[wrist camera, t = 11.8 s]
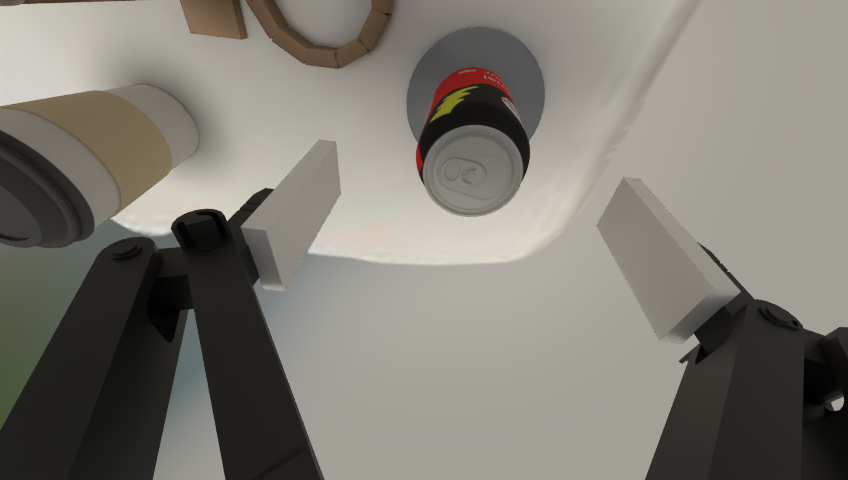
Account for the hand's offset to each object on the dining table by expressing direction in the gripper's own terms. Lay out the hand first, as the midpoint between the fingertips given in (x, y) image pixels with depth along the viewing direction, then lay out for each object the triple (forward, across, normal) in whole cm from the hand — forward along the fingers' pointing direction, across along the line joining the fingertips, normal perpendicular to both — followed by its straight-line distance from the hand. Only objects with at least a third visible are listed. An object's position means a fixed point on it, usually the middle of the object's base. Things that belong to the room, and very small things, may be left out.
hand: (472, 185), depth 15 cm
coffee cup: (+15, -28, -6) cm, 33 cm away
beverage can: (+14, 0, 0) cm, 14 cm away
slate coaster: (+14, 0, -1) cm, 14 cm away
